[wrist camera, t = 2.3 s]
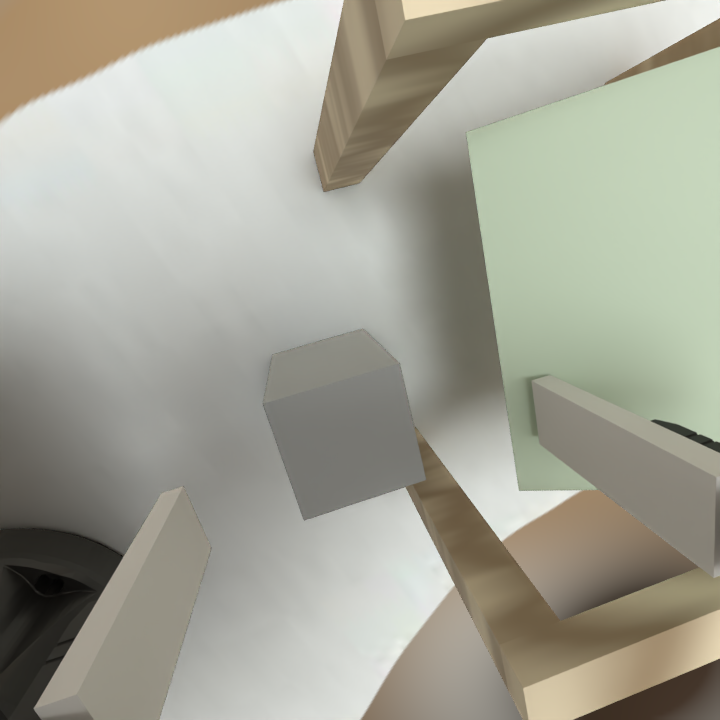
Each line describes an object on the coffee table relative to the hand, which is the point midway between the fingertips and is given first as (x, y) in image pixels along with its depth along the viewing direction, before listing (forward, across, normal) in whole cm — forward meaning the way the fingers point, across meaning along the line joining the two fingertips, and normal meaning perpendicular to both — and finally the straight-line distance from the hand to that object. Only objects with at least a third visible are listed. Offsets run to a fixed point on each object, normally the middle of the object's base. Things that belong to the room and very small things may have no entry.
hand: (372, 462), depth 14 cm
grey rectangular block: (+6, -1, 0) cm, 6 cm away
